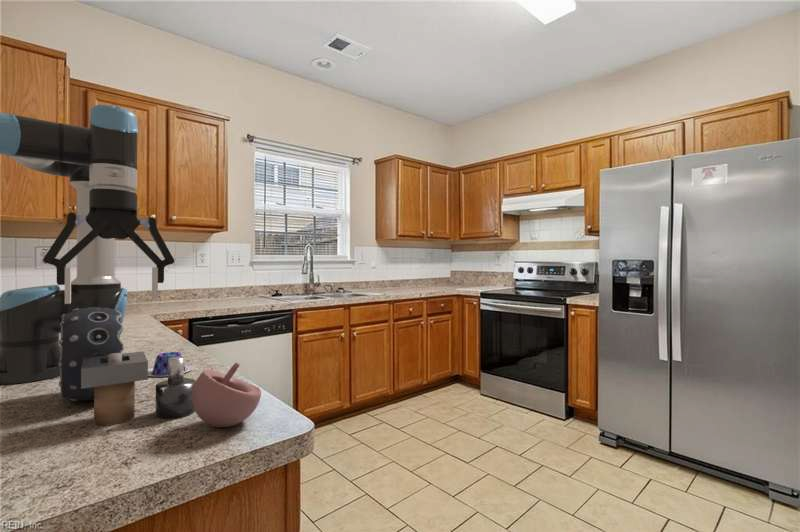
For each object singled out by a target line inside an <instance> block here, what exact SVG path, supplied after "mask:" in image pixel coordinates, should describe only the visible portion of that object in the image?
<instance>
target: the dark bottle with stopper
mask: <svg viewBox="0 0 800 532" xmlns="http://www.w3.org/2000/svg"><path fill="white" fill-rule="evenodd" d="M184 365H185V357H184V356H182V357H172V358H169V359H168V376H167V380H163V381H160V382H158V383H156V384H155V418H156V419H159V420H177V419H181V418H184V417H188V416H190V415H193V414H194V412H195V410H194V407H193V404H192V391H193V387H194V384H195V382H196V380H195V379H193V378H190V377H189V378H187V377H185V373H184V372H185V371H184ZM195 413H196V412H195Z"/></svg>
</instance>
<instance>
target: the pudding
mask: <svg viewBox="0 0 800 532" xmlns="http://www.w3.org/2000/svg"><path fill="white" fill-rule="evenodd" d="M172 357H183V355H182V353H180V352H179V351H167V352H162V353H158V354H157V355H156V358H155V361H154V364H153V367H152V368H148V377H168V359H169V358H172ZM185 367H186V368H188V370H187V371H186V372H185V370H186V369H185ZM192 370H194V366H193V365H190V364H184V374H185V373H188V372H190V371H192Z"/></svg>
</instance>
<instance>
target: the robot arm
mask: <svg viewBox="0 0 800 532" xmlns="http://www.w3.org/2000/svg"><path fill="white" fill-rule="evenodd" d="M88 123H89V127H85V126H79V125H73V124H68V123H60V122H55V121H50V120H45V119H44V120H43V119H38V118H32V117H27V116H24V115H23V116H22V115H18V114H14V113H10V112H9V113H8V112H7V113H5V112H0V155H1V156H2V155H4V156H7V157H11V159H12V160H14V161H15V162H16V163H17V164H19V165H21V166H22V167H25V168H28V169H31V170H34V171H37V172H40V173H43V174H47V175H51V176H52V175H53V176H57V177H58V176H59V177H67V178H69V184H70V185H71V186H72V187H73V188H74V189H75V190H76V213H75V212H68V214H67V217H66V224H65V226H64V227H63V229H62V230H61V231H60V233H58V236H57V238H55V240H54V242H53V243H52V244H51V246H50V248H49V249H48V251H47V252H46V254H45V255H44V257H43V259H42V261H43V263H45V264H47V265H52V266H54V267H55V268H56V284H51V285H50V284H49V285H39V286H31V287H30V286H29V287H23V288H16V289H11V290H7V291H6V290H5V291H4V292H2V294H0V385H6V384H7V385H8V384H11V385H12V384H22V383H30V382H37V381H42V380H47V379H51V378H55V377H58V376H59V377H60V367H59V366H58V363H59V362H60V344H59V340H60V334H61V326H60V323H61V322H62V318H61V316H62V315H63V314H68V313H70V312H71V311H72V310H74V309H84V308H94V307H97V308H109V309H113V310H117V311H119V312H121V314H122V318H121V324H122V323H123V321H124V318H125V314H126V310H127V309H126V308H127V304H128V289H126V288H125V287H122V285H121V283H122V282H121V280H119V279H117V277H116V276H115V273H116V272H115V269H116V268H115V267H116V266H115V256H116V255H115V248H116V247H115V246H116V245H115V244H116V243H115V242H116V241H115V239H117V240H126V239H128V238H129V239H130V240H131V241H132V242H133V243H134V244H135V245H136V246H137V247H138V248H139V249H140V250H141V251H142V252H143V253H144V254H145V255H146V256H147V257H148V258H149V259H150V260H151V261H152V262H153V263H154V265H155V266H156V267H155V266H154V267H151V300H152V301H158V299H159V298H158V295H159V293H158V292H159V288H158V287H159V286H158V285H159V284H164V281H165V267H167V266H168V265H173V264H175V258H174V257H173V255H172V254H171V251H170V249H169V248H168V246H167V244H166V243H165V241H164V239H163V237H162V235H161V234H160V232H159V230H158V228H157V227H158V225H157V219H156V218H155V217H150V218H139V216H138V195H137V194H136V191H137V190H138V138H139V137H138V136H139V135H138V134H139V131H140V130H139V129H138V117H137V115H136V114H135V113H134V112H133V111H131V110H129V109H126V108H124V107H121V106H116V105H111V104H95V105H93V106H92V107H90V110H89V119H88ZM140 225H141V226H143V228H144V229H145V230H148V231H149V234H150V235H151V237H152V239H153V241H154V243H155V244H156V246H157V248H158V249H159V251H160V253H161V254H162V256H163V259H161V258H160V257H159V255H157V254H156V252H154V250H153V249H152V248H150V247H149V245H148V244H147V243H146V242H145V241H144V240H143V239H142V238H141V237H140V235H138V234H137V232H136V229H137V228H138V227H139V226H140ZM75 229H76V244H75V245H74V246H73V247H72V248H70V250H69V251H68V252H66V253H65V254H64V255H63V256H61V257H60V258H57V256H58V254H59V252H60V251H61V250H62V248H63V247H64V245H65V244H66V242H67V241H68V239H69V238H70V237H71V235H72V233H73V232H74V230H75ZM75 257H76V277H75V278H74V279H72V267H70V266H69V267H67V265H68V264H69V263H70V262H71V261H73V259H74V258H75ZM60 286H64V289H61V287H60ZM122 325H123V324H122Z"/></svg>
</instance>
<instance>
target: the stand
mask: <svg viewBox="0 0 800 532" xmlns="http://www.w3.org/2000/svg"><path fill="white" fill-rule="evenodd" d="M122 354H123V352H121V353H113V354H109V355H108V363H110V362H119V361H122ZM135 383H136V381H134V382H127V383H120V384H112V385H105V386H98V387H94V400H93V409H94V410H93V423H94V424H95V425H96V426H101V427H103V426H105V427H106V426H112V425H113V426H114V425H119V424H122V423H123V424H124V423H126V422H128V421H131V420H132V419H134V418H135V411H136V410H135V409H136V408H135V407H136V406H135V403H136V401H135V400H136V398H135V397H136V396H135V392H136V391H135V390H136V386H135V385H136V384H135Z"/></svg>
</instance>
